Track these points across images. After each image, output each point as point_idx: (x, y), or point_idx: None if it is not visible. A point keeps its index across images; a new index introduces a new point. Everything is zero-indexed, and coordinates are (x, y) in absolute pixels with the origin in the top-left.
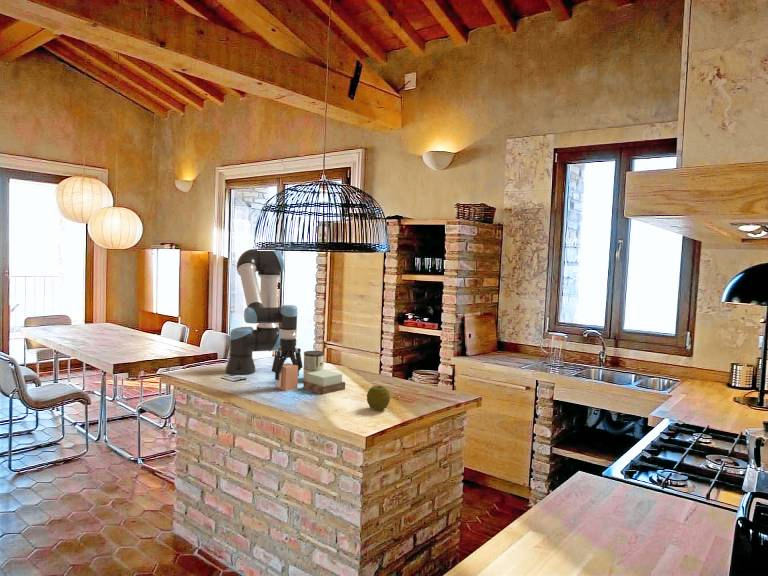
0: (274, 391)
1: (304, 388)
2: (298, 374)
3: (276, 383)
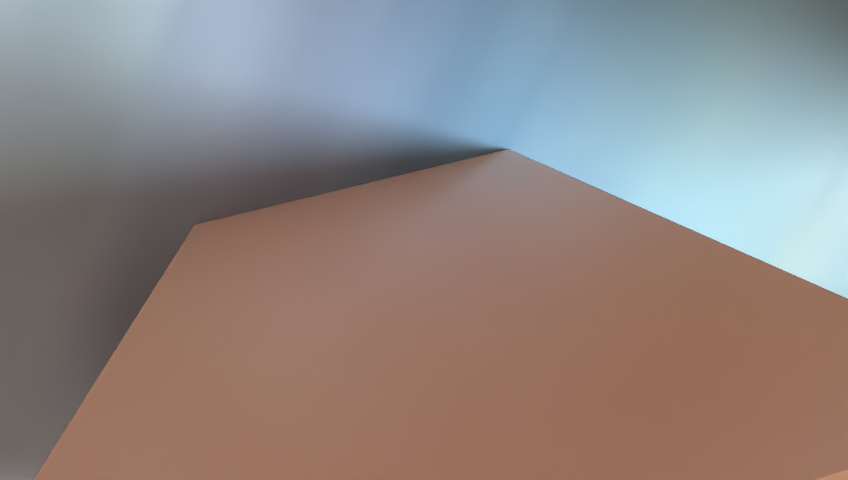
0: None
1: None
2: None
3: None
